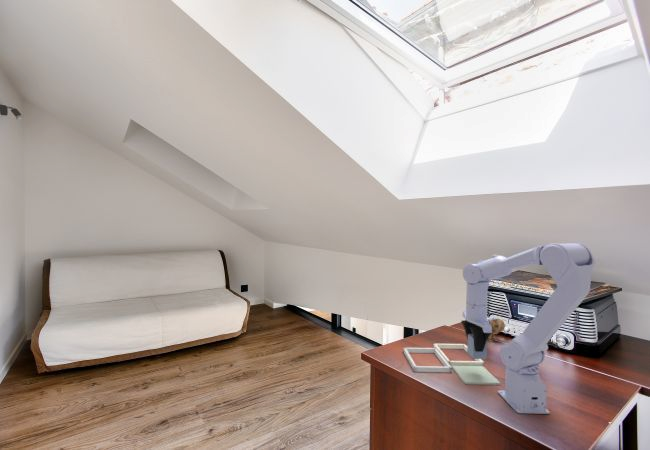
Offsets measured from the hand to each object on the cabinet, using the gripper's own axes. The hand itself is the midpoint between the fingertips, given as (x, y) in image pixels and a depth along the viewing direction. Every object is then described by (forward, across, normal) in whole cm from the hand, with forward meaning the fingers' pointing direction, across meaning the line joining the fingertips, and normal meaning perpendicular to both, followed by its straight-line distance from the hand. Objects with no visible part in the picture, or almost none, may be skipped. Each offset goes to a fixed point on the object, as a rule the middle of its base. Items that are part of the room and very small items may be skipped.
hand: (475, 347), depth 96 cm
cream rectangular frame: (+8, +13, 0) cm, 16 cm away
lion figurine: (+9, +31, -19) cm, 37 cm away
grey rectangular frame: (+8, +9, +12) cm, 17 cm away
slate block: (+2, 0, 0) cm, 3 cm away
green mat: (+9, 0, 0) cm, 9 cm away
